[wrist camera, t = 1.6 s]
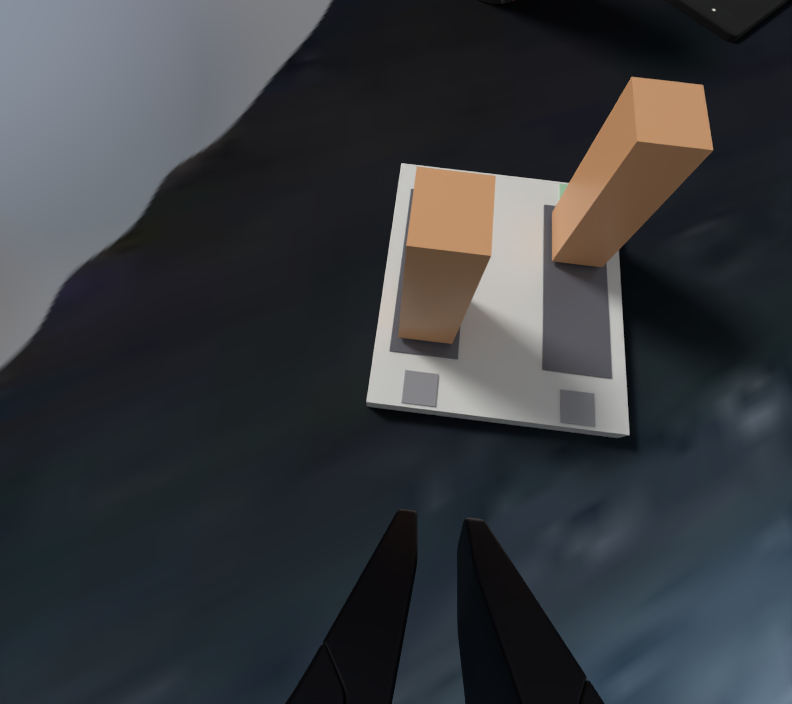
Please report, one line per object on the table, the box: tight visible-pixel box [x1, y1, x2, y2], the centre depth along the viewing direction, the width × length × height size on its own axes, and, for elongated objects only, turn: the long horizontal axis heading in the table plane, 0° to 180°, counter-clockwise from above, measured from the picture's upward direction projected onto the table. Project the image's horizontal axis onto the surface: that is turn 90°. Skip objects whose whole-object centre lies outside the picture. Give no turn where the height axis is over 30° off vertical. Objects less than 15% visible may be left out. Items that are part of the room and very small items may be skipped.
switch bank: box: [367, 163, 630, 438], centre depth 26 cm, size 16×14×1 cm
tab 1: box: [398, 167, 496, 344], centre depth 20 cm, size 4×3×9 cm
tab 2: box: [552, 77, 713, 267], centre depth 22 cm, size 4×3×9 cm
